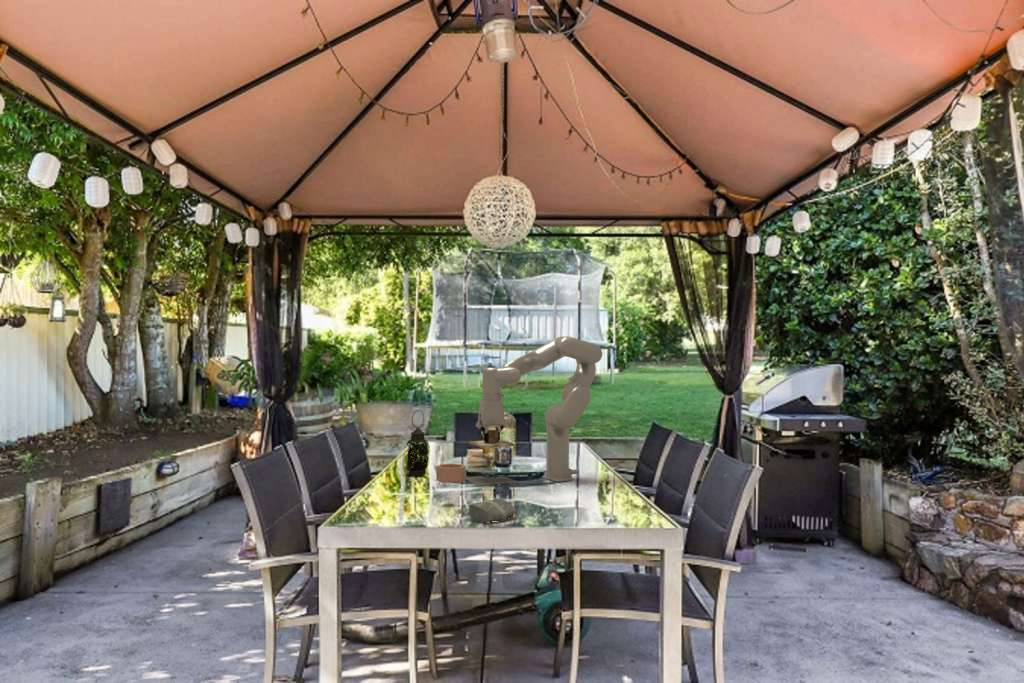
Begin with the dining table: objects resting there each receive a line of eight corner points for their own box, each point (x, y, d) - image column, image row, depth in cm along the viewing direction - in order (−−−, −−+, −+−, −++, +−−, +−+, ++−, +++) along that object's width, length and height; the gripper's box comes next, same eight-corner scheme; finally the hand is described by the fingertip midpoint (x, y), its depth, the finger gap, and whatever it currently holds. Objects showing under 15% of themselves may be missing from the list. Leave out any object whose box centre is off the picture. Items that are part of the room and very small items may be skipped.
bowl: (458, 478, 303) (459, 463, 303) (468, 483, 293) (468, 467, 293) (433, 480, 298) (434, 464, 298) (442, 485, 288) (442, 468, 288)
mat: (501, 477, 308) (501, 474, 308) (519, 484, 292) (519, 482, 292) (462, 479, 301) (462, 477, 301) (478, 487, 285) (478, 485, 285)
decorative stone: (495, 513, 241) (495, 495, 241) (518, 519, 234) (519, 500, 235) (468, 520, 231) (468, 501, 231) (492, 526, 224) (492, 506, 224)
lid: (500, 441, 306) (500, 427, 306) (514, 446, 293) (514, 431, 293) (469, 443, 300) (469, 429, 300) (482, 448, 287) (482, 433, 288)
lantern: (417, 472, 317) (418, 408, 317) (432, 475, 312) (433, 410, 312) (401, 475, 309) (402, 410, 309) (417, 478, 304) (418, 411, 304)
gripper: (506, 396, 304) (506, 440, 304) (469, 397, 297) (469, 442, 297) (514, 397, 297) (514, 442, 297) (476, 398, 290) (476, 444, 290)
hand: (491, 441), depth 297 cm, fingers closed on lid, 4 cm apart
